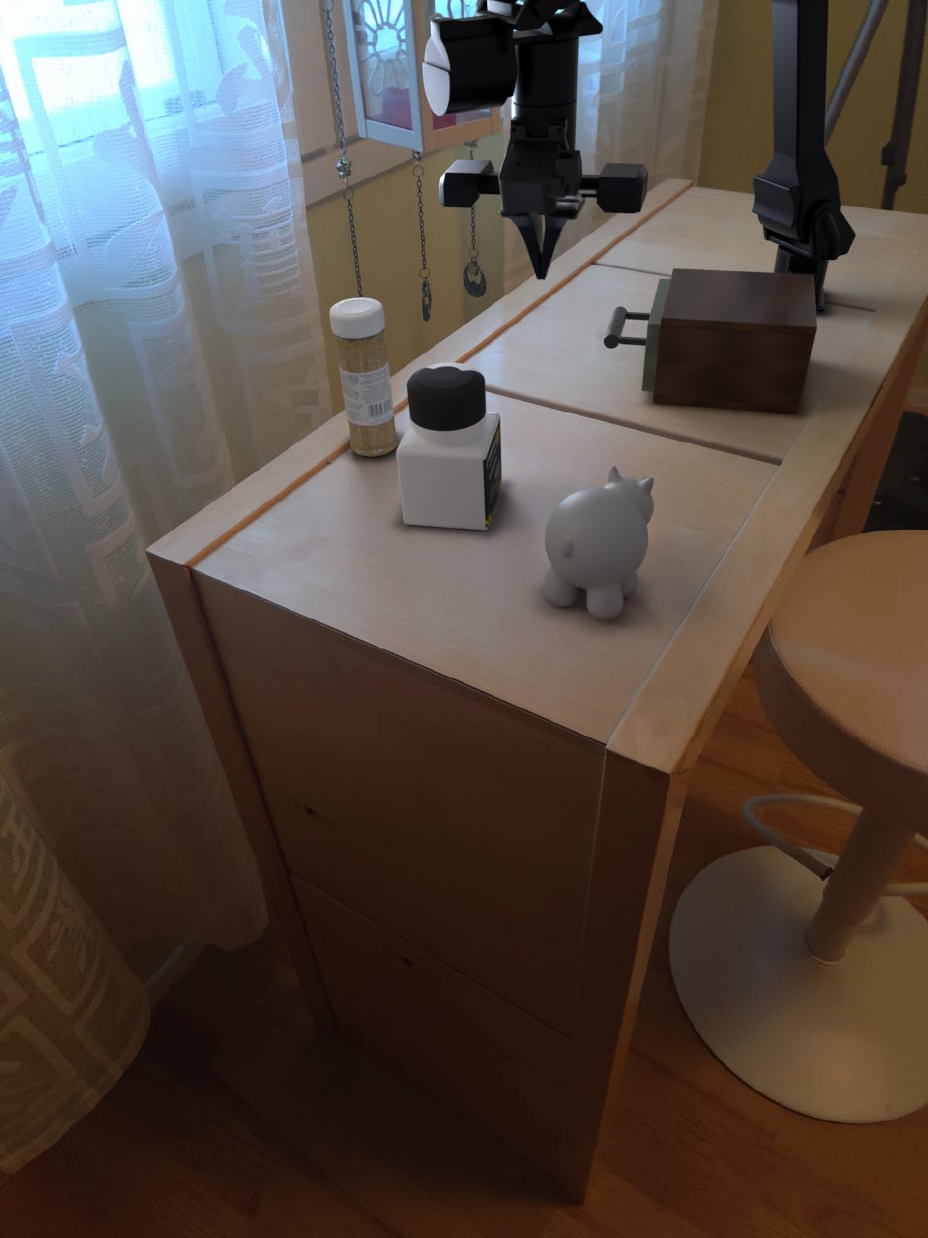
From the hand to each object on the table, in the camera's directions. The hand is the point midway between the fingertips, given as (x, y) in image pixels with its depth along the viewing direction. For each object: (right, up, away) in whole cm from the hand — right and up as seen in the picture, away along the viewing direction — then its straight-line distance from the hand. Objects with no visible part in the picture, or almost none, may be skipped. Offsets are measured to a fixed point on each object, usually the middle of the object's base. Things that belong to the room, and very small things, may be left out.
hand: (541, 278), depth 88 cm
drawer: (+15, -8, +2) cm, 17 cm away
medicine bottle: (-9, -24, -13) cm, 29 cm away
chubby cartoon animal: (+3, -31, -21) cm, 37 cm away
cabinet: (+19, -10, +2) cm, 21 cm away
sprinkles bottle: (-16, -18, -5) cm, 24 cm away
